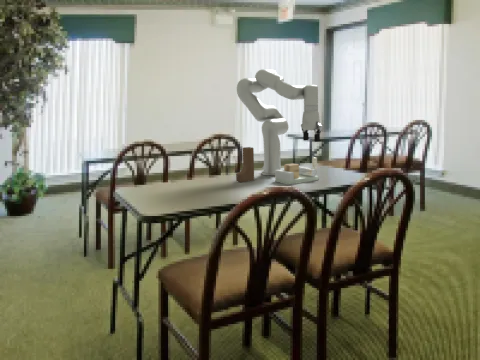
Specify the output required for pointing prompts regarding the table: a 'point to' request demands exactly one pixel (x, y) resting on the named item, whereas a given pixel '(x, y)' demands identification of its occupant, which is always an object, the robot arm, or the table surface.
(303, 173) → the slide jaw
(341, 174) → the table surface
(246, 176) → the wooden block
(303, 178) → the vise base
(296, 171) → the maple block
